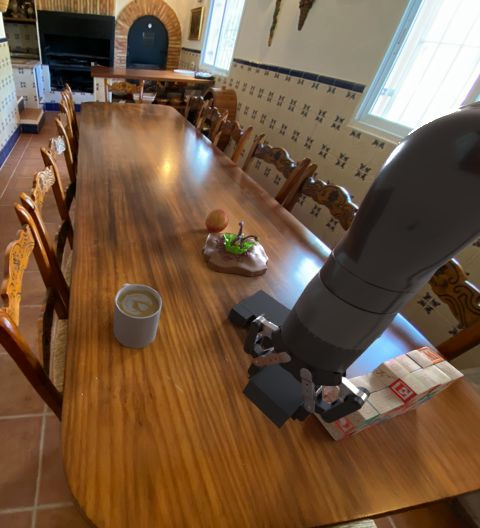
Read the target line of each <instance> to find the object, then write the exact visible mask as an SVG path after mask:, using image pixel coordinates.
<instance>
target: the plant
mask: <svg viewBox="0 0 480 528" xmlns="http://www.w3.org/2000/svg"><path fill="white" fill-rule="evenodd" d="M237 225H238V226H239V230H238V233H233V232H228V231H227V232H219V233H212V232H209V234H208V235H207V238H206V240H205V244H204V246H203V247H202V248H201V252H200V253H201V254H202V259H203V260H204V262H207V263H208V264H207V266H208V267H209V269H211V270H214V271H215V272H218V273H223V274H235V275H241V276H245V277H248V278H252V277H259V276H260V275H265V274H266V273H267V270H268V266H267V264H268V262H269V257H268V256H267V253H266V251H265V249H264V247H263V246H262V245H261V243H260V237H259V236H258V235H256V234H255V235H254V234H248V235H246V236H245V235H244V233H243V229H244V228H243V226H244V221H239V222H238V224H237ZM253 238H254V239H253Z"/></svg>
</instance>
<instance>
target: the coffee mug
mask: <svg viewBox="0 0 480 528" xmlns="http://www.w3.org/2000/svg"><path fill="white" fill-rule="evenodd" d="M162 300H163V299H162V297H161V295H160V293H159V292H158V291H157V290H155V289H154V288H153V287H151V286H148V285H145V284H141V283H140V284H139V283H133V284H130V283H124V284H122V286H121V288H120V289H119V290H118V291H117V292H116V293H115V297H114V308H113V309H114V311H113V328H112V329H113V330H112V331H113V336H114V337H115V339H116V340H117V341H118V342H119V343H120V345H122V346H125V347H127V348H129V349H142V348H146V347H148V346H150V345H151V344H152V343H153V342H154V341H155V339H156V336H157V332H158V327H159V322H160V317H161V312H162V307H163V301H162Z"/></svg>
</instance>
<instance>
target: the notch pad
mask: <svg viewBox="0 0 480 528" xmlns="http://www.w3.org/2000/svg"><path fill="white" fill-rule="evenodd" d="M291 310H292V309H290V308H288V307H287V306H285V305H284V304H283V303H281V302H280V301H278V300H277V299H276V298H274V297H273V296H272V295H270V294H268V293H267V292H265V291H264V289H263V290H262V289H259V290H258V291H256V292H255V293H253V294H252V295H250V296H248V297H247V298H245V299H244V300H242V301H240V302H239V303H238V304H236V305H234V306H232V307H231V308H230V311H229V314H228V316H227V318H228V319H229V320H230V321H231V322H233V324H235V325H236V326H237V327H239V328H240V329H241V330H242V329H243V328H245V327H246V326H247V325H250V324H251V322H252V321H254V320H255V319H256V318H258V317H259V316H261V315H262V314H266V315H268V316H269V318H270V320H269V322H271V323H272V324H274V325H276V326H277V327H278V326H281V325H282V324H283V322H284V321H285V319H286V318H287V316H288V314H289V313H290V311H291ZM261 347H262V348H263V349H264V350H266V349H270V348H273V343H272V339H271V334H267V335H266V336H264V338H263V341H262V344H261Z"/></svg>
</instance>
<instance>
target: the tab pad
mask: <svg viewBox="0 0 480 528" xmlns="http://www.w3.org/2000/svg"><path fill="white" fill-rule="evenodd" d="M278 364H279V363H278ZM278 364H274V365H269V366H268V365H266V366H265V367H264V368H262V369H261V370H260V371H259V372H258V373H257V374H256V375H254V376H253V377H252V378H251V379H250V380H249V379H248V381H247V383H246V385H245V386H244V388H243V390H242V391H241V393H242V394H243V395H244V396H245V397H246V398H247V399H248V400H249V401H250V402H251V403H252V404H253V405H254V406H255V407H256V408H257V409H258V410H259V411H260V412H261V413H262V414H264V416H266V417H267V418H268V420H270V422H272V424H274V425H275V427H277V428H278V429H281V428H282V427H283V426H284V425H285V423H286V422H287V421H289V419H291V418H290V417H291V416H292V415H293V414H294V413H295V411H296V410H297V409H298V407H299V406H300V405H301V404H302V402H303V401H304V396H303V395H302V383H300V382H299V381H298V380H296V379H295V378H294V377H293V375H292V374H291V373H290V372H288V371H286V370H285V369H283V368H282V367H281V366H280V365H278Z"/></svg>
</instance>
